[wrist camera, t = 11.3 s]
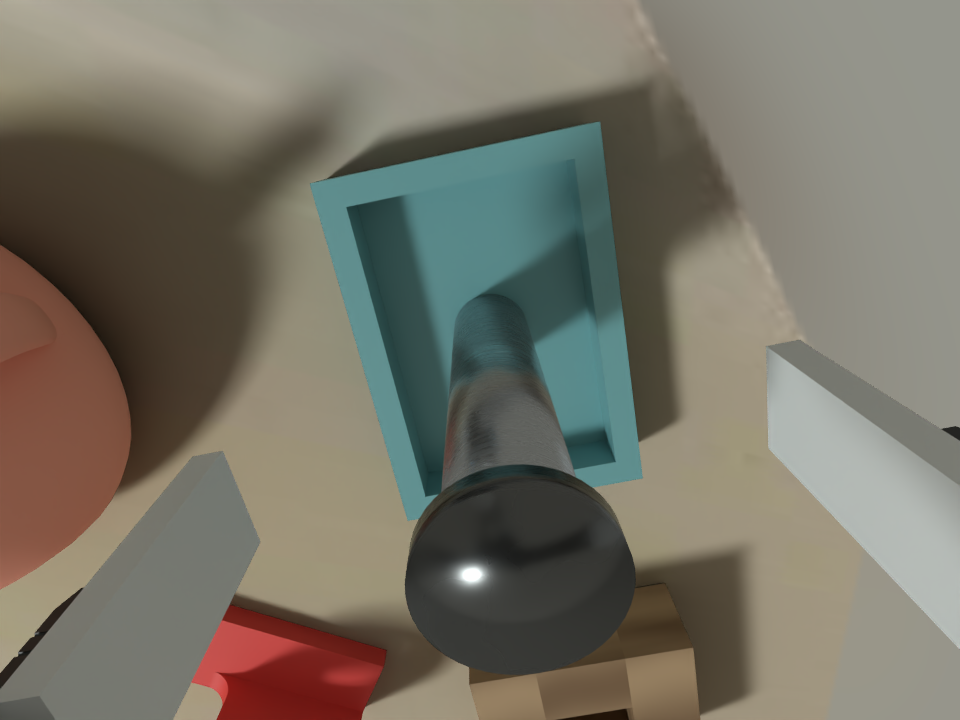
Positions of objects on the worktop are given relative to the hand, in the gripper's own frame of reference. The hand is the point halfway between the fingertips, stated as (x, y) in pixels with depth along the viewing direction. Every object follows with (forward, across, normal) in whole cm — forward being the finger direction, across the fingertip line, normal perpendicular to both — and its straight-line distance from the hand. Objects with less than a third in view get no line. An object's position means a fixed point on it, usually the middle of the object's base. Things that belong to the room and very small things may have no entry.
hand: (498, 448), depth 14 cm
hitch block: (+11, +1, -20) cm, 23 cm away
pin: (+10, 0, 0) cm, 10 cm away
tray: (+11, 0, 0) cm, 11 cm away
